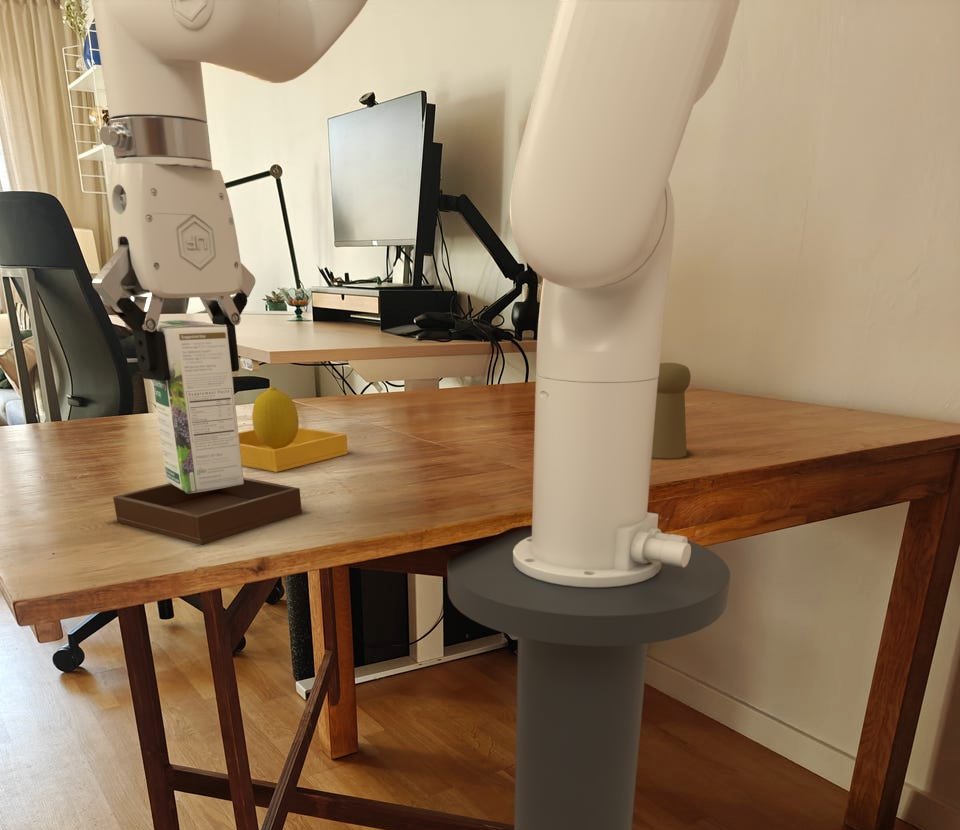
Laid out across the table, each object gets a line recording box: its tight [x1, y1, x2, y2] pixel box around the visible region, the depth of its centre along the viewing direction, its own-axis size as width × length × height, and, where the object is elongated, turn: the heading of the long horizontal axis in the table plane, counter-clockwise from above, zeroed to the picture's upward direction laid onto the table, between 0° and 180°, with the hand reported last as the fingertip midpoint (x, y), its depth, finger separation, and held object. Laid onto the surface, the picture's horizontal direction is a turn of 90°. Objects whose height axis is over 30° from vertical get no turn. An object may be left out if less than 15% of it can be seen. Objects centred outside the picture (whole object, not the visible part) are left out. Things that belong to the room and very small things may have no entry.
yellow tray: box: [238, 426, 349, 473], centre depth 108 cm, size 12×12×2 cm
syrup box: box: [152, 319, 244, 494], centre depth 79 cm, size 6×6×14 cm
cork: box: [652, 362, 692, 460], centre depth 108 cm, size 6×6×11 cm
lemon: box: [251, 386, 300, 449], centre depth 106 cm, size 6×6×8 cm
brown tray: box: [112, 476, 303, 545], centre depth 83 cm, size 12×12×2 cm
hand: (191, 373), depth 78 cm, fingers closed on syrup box, 7 cm apart
